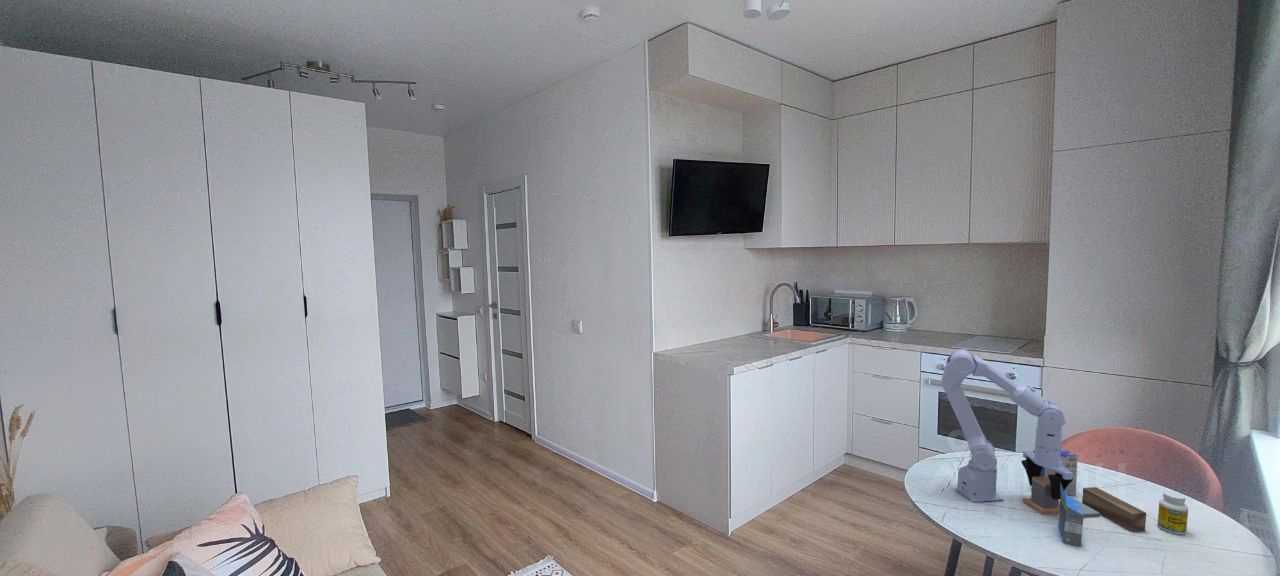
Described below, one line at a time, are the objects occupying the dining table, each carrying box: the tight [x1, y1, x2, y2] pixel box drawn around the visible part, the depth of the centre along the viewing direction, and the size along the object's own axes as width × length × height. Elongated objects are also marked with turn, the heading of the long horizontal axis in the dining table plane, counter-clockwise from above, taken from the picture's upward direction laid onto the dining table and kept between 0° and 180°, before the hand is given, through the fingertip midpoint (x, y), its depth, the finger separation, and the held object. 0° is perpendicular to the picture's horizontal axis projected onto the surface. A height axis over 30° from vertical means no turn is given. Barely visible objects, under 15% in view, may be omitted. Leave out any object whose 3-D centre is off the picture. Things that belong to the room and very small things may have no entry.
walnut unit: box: [1081, 486, 1147, 533], centre depth 143 cm, size 4×14×5 cm, turn 4°
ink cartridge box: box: [1032, 449, 1079, 496], centre depth 157 cm, size 10×6×14 cm, turn 89°
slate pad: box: [1059, 499, 1101, 518], centre depth 146 cm, size 7×7×1 cm
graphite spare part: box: [1030, 476, 1060, 509], centre depth 148 cm, size 4×4×7 cm
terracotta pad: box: [1022, 497, 1060, 515], centre depth 148 cm, size 7×7×1 cm
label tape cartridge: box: [1057, 483, 1085, 547], centre depth 134 cm, size 9×4×12 cm, turn 148°
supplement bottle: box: [1157, 490, 1189, 535], centre depth 136 cm, size 5×5×10 cm
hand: (1044, 492), depth 148 cm, fingers open, 7 cm apart
